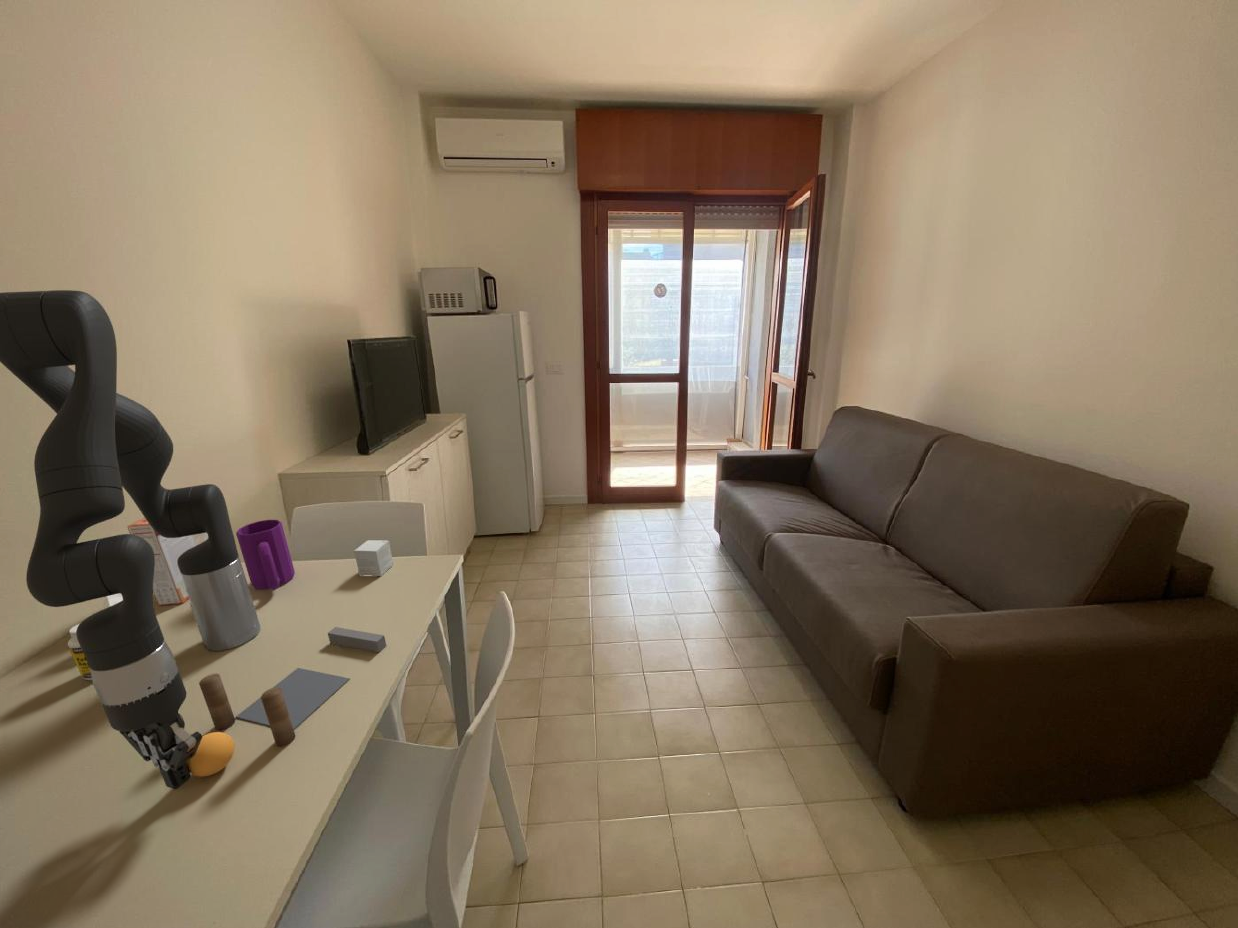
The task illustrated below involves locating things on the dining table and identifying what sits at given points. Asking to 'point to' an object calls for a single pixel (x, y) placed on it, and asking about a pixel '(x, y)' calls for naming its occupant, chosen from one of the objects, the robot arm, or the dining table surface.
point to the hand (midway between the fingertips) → (179, 782)
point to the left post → (217, 702)
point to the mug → (266, 554)
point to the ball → (211, 754)
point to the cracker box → (167, 561)
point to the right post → (278, 716)
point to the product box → (373, 557)
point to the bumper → (357, 639)
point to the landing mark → (298, 696)
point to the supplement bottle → (79, 655)
